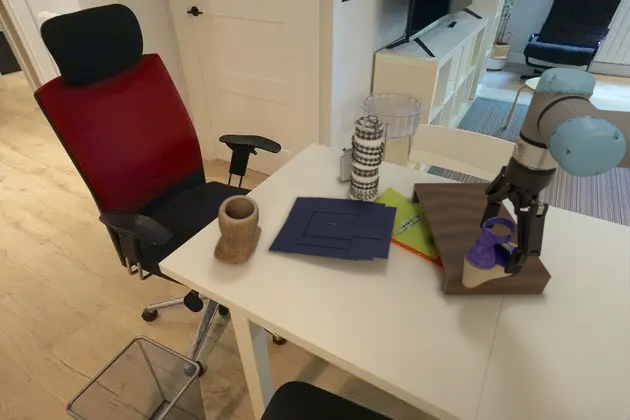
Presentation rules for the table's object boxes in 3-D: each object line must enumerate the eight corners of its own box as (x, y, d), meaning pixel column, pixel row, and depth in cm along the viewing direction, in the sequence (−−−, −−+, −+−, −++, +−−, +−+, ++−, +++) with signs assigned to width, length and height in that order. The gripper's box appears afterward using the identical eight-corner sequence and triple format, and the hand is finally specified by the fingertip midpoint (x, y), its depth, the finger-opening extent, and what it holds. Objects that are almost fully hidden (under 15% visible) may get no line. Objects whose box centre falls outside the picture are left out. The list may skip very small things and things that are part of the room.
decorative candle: (343, 190, 116) (346, 114, 101) (369, 184, 119) (377, 109, 103) (355, 206, 110) (362, 128, 94) (383, 199, 112) (394, 123, 97)
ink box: (368, 170, 125) (371, 139, 118) (372, 173, 124) (375, 142, 116) (338, 178, 121) (339, 146, 114) (341, 181, 120) (343, 150, 113)
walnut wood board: (541, 294, 84) (551, 276, 80) (444, 294, 84) (449, 277, 80) (484, 199, 112) (489, 182, 109) (411, 199, 112) (414, 183, 109)
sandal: (535, 264, 83) (563, 211, 74) (471, 298, 76) (492, 245, 67) (505, 242, 89) (527, 190, 79) (442, 271, 82) (458, 219, 72)
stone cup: (254, 270, 90) (247, 223, 81) (209, 263, 92) (196, 216, 83) (272, 230, 102) (268, 184, 92) (231, 224, 104) (223, 179, 94)
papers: (386, 272, 88) (386, 261, 85) (269, 258, 96) (267, 248, 94) (397, 210, 106) (398, 200, 104) (298, 203, 115) (297, 193, 112)
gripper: (486, 129, 75) (461, 211, 88) (547, 203, 56) (503, 295, 69) (523, 129, 75) (493, 211, 88) (597, 203, 56) (544, 295, 69)
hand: (497, 248), depth 79 cm, fingers open, 13 cm apart
